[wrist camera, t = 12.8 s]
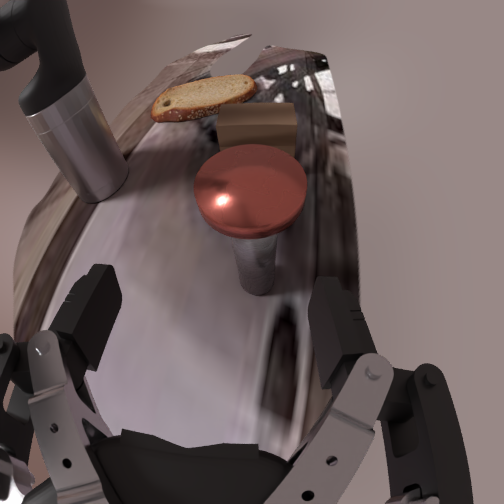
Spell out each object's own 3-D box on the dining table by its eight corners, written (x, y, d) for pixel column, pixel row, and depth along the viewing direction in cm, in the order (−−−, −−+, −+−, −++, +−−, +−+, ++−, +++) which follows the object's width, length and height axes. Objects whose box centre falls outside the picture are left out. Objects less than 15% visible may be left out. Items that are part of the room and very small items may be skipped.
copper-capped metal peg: (289, 309, 26) (313, 227, 13) (223, 309, 26) (185, 227, 14) (284, 198, 32) (291, 92, 20) (231, 198, 33) (215, 94, 20)
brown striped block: (292, 175, 35) (297, 124, 27) (224, 175, 35) (215, 126, 28) (290, 151, 37) (293, 103, 30) (227, 151, 38) (220, 104, 30)
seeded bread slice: (262, 84, 49) (262, 69, 45) (231, 130, 41) (229, 111, 37) (187, 80, 52) (184, 67, 48) (143, 123, 44) (137, 108, 41)
